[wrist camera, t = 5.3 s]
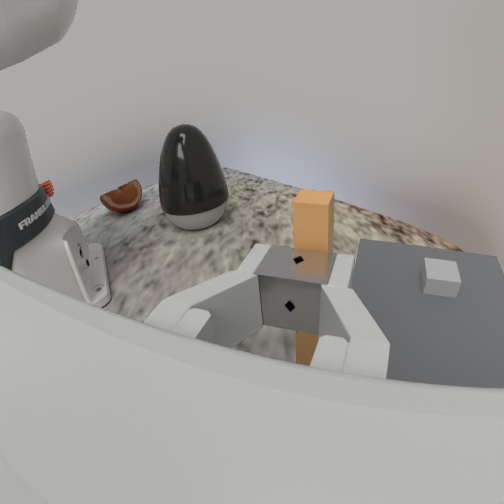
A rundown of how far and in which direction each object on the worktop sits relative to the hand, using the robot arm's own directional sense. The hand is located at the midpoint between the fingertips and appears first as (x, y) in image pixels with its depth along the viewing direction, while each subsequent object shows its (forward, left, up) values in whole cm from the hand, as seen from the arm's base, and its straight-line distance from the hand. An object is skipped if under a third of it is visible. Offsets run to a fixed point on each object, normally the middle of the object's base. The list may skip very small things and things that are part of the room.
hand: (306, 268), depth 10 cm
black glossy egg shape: (-38, -1, -15) cm, 41 cm away
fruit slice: (-51, -14, -15) cm, 55 cm away
